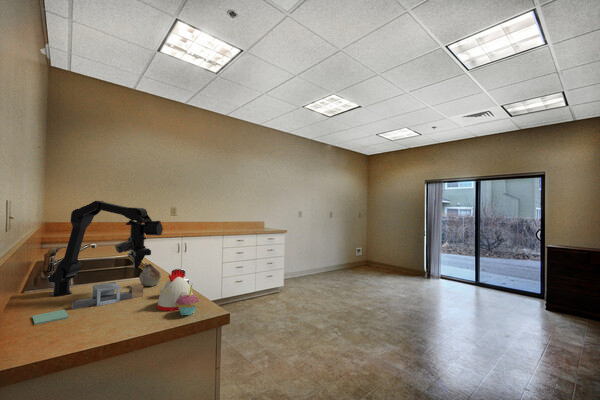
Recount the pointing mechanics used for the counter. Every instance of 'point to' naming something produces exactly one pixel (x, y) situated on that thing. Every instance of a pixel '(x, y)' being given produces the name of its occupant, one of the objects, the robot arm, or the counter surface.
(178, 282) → the kitchen timer
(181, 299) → the cupcake
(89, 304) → the bar
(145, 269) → the grey rounded lump
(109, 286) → the tunnel
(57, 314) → the coaster
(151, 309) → the counter surface
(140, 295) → the block
